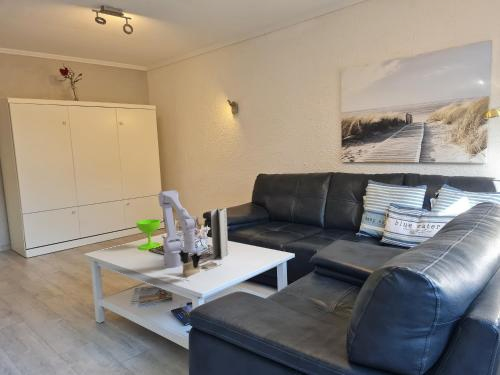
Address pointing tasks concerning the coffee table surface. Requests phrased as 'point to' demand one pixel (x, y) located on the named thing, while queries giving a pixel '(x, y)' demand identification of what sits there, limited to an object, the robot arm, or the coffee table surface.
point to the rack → (205, 264)
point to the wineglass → (148, 227)
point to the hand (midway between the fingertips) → (190, 266)
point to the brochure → (219, 233)
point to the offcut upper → (209, 265)
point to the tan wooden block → (190, 269)
